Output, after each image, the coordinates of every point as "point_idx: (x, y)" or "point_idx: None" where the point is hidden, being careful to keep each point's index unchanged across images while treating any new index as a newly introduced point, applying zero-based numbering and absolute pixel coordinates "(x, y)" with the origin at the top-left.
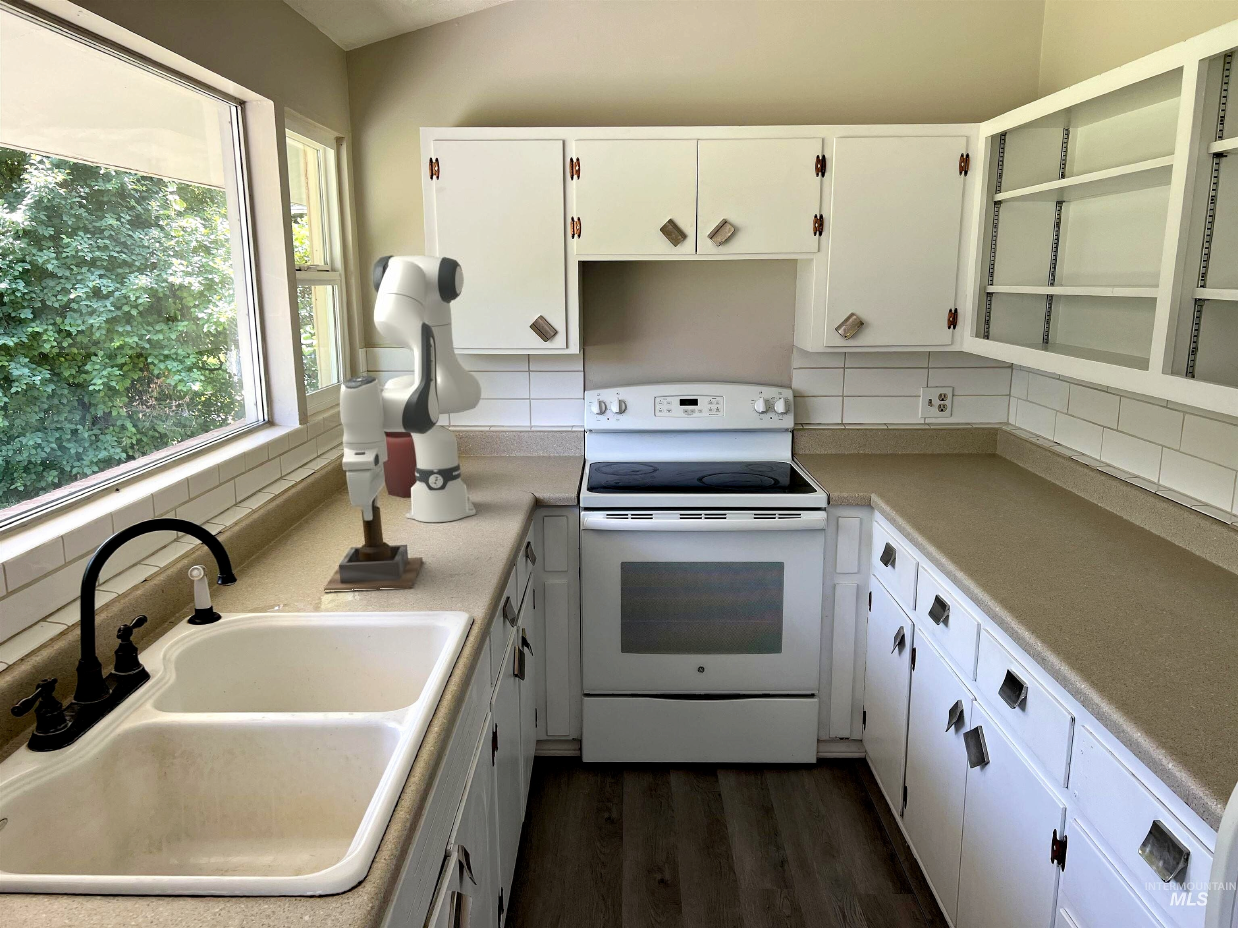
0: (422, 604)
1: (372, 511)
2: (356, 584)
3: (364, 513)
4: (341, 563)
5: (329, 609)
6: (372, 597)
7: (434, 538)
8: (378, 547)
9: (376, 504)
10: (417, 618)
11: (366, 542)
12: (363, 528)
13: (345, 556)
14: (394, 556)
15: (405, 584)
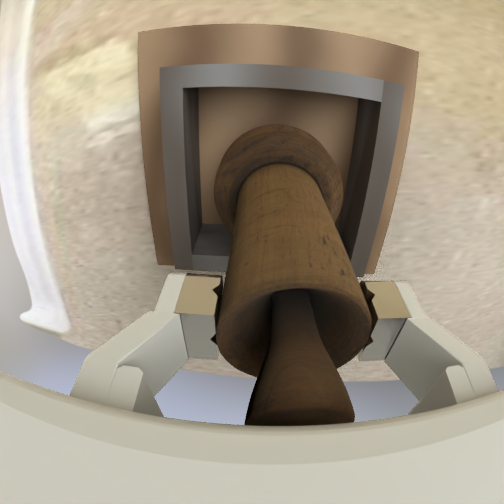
0: (79, 280)
1: (192, 356)
2: (159, 121)
3: (158, 310)
4: (179, 72)
5: (38, 98)
6: (102, 177)
7: (501, 274)
8: (232, 224)
9: (387, 358)
10: (31, 274)
11: (248, 183)
12: (269, 202)
13: (276, 68)
14: (347, 222)
15: (156, 251)
